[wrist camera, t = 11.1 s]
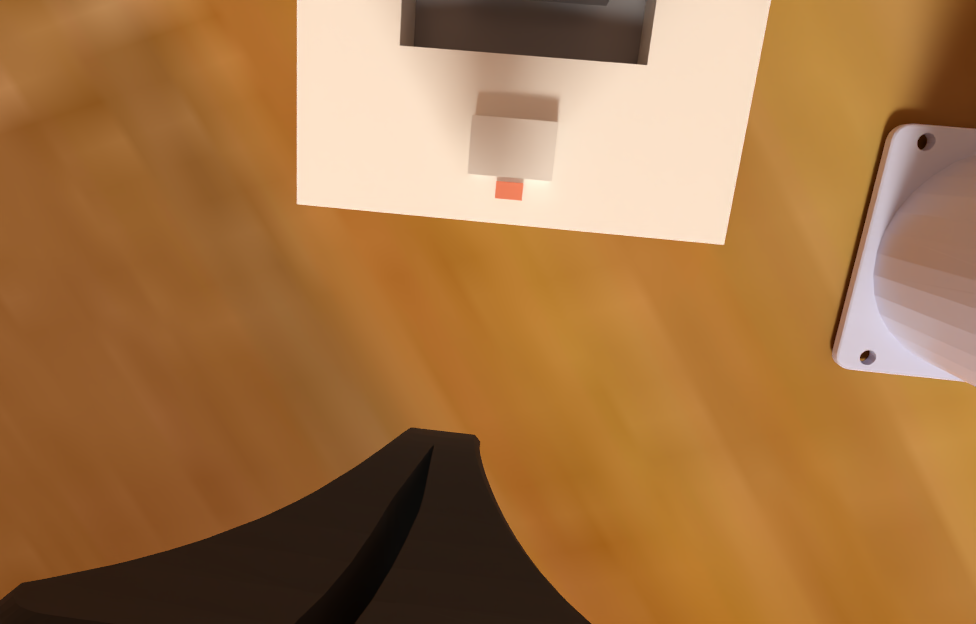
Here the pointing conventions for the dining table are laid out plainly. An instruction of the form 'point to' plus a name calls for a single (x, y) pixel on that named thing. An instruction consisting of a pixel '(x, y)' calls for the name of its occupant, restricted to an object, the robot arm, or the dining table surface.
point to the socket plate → (529, 111)
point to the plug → (580, 2)
